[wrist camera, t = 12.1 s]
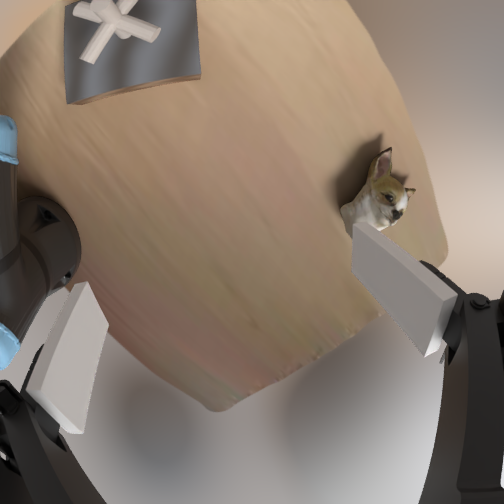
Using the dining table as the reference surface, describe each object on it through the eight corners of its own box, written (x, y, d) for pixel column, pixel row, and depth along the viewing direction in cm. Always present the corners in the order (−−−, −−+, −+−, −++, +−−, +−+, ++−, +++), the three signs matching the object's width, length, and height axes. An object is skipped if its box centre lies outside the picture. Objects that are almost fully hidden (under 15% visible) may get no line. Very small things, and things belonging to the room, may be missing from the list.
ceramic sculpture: (345, 226, 34) (415, 148, 32) (315, 207, 42) (377, 141, 40) (381, 272, 39) (441, 202, 37) (351, 249, 46) (406, 188, 44)
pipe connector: (70, 56, 22) (29, 40, 13) (117, -12, 19) (94, -48, 10) (137, 83, 25) (112, 70, 17) (186, 13, 23) (184, -24, 14)
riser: (81, 104, 29) (66, 104, 24) (78, 16, 22) (65, 6, 18) (200, 79, 31) (201, 73, 26) (194, -10, 24) (194, -26, 20)
